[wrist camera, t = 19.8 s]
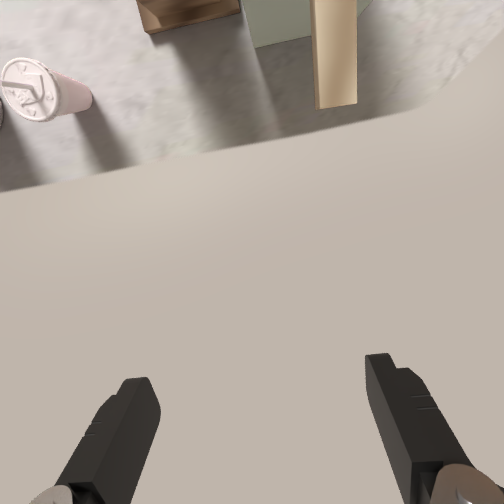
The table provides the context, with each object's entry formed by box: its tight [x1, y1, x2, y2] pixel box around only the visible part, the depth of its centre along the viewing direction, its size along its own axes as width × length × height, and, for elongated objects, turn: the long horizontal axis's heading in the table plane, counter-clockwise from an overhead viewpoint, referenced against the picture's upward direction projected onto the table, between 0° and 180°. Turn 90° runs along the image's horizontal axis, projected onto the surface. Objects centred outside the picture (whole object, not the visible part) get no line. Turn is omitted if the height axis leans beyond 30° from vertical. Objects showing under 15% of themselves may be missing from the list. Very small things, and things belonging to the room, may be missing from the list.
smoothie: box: [0, 58, 92, 122], centre depth 36 cm, size 6×6×14 cm
